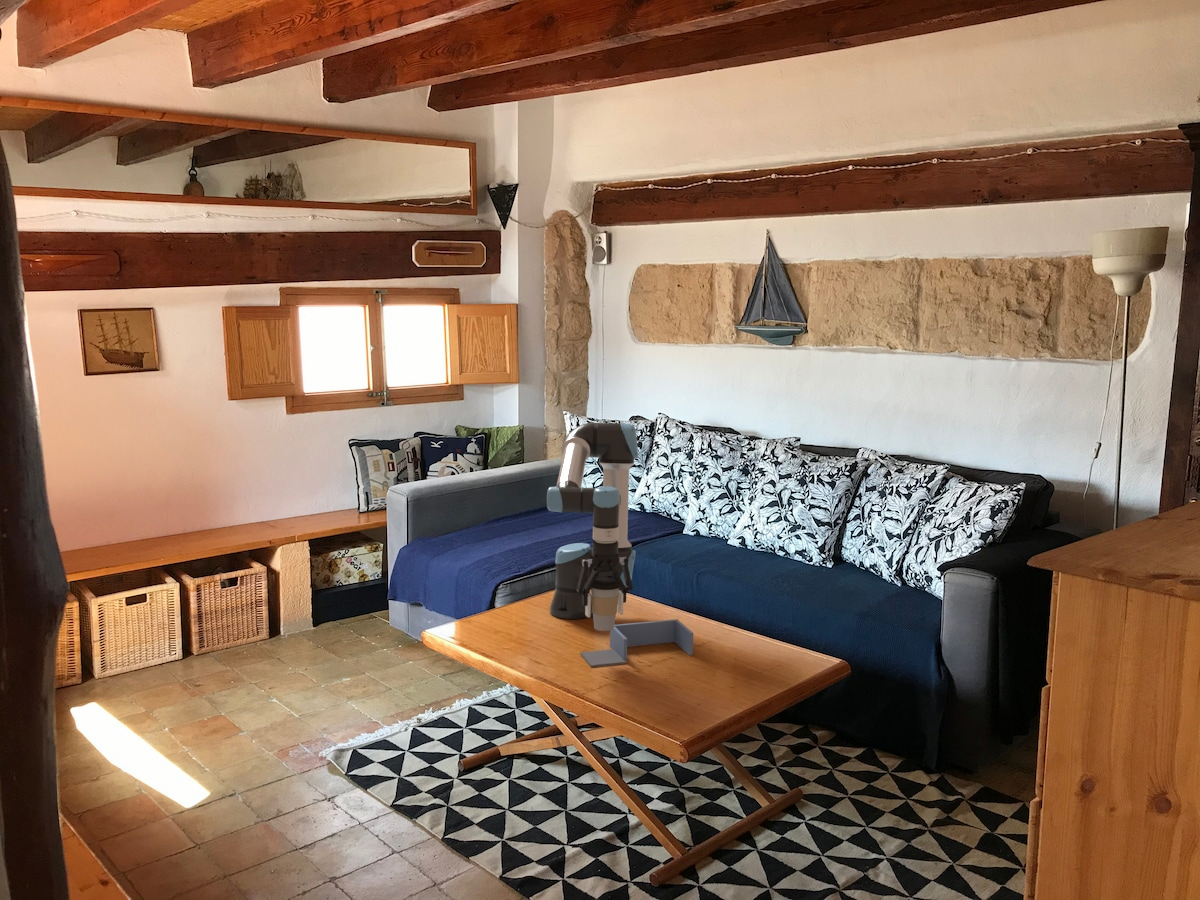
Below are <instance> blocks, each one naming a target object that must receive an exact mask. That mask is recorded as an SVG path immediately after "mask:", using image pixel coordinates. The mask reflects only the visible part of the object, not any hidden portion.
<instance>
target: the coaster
mask: <svg viewBox="0 0 1200 900" xmlns="http://www.w3.org/2000/svg"><path fill="white" fill-rule="evenodd" d="M579 654H580V656H581V657H582V658H583V659H584V661H585V662H586V663H587V665H588V666H589V667H590V668H596V667H598V668H599V667H607V666H617V665H628V660H627V661H626V660H623V659H622V658H621V657H620V656H619V655H618V653H617V652H616V651H615V650H614V649H611V648H610V649H599V650H590V651H582V652H581V651H580V653H579Z"/></svg>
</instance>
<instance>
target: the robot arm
mask: <svg viewBox="0 0 1200 900" xmlns="http://www.w3.org/2000/svg"><path fill="white" fill-rule="evenodd" d="M638 449H639V448H638V438H637V430H636V427H635V426H634V425H633V424H631V423H623V422H620V423H619V422H618V423H617V422H614V423H613V422H611V423H610V422H586V423H584V424H583V423H582V424H581V425H579V426H576V427H575V428H573V429H572V430H571V431H569V433H568V434H567V435H566V436H565V438H564V439H563V441H562V443H561V455H562V460H561V464H560V468H559V473H558V476H557V482H556V486H549V487H548V489H547V493H546V508H547V510H548V511H549V512H555V513H556V512H558V513H583V514H584V513H585V514H593V516H592V517H593V519H592V520H593V521H592V540H593V541H592V547H591V544H589V543H584V542H577V543H576V542H575V543H568V544H566V545H563V546H560V547H559V548H557V550H556V554H555V561H554V564H555V590H554V594H553V596H552V599H551V602H550V605H549V613H550V614H551V615H552V616H554V617H555V618H558V619H559V618H560V619H565V620H581V619H587V618H591V616H592V617H593V612H592V602H591V587H592V585H593V583H594V581H595V580H596V578H597V576H599V575H609V576H614V577H615V578H616V579H618V580H619V583H621V584H620V585H621V587H620V588H619V593H618V594H619V597H618V605H617V613H618V614H620V616H622V615H624V604H625V603H627V594H628V593H629V591H632V590H633V588H634V587H633V583H632V577H633V571H634V566H635V559H636V552H637V551H636V550H634V549H632V543H631V542H630V541H629V540H628V529H629V528H628V526H629V525H628V522H629V492H630V491H629V487H630V486H629V484H630V483H629V481H630V468H631V467H633V465H634V463H635V460H637V459H639V450H638ZM589 458H597V459H599V462H598V463H599V465H600V466H601V467H602V468H603V472H602V473H603V479H602V486H599V487H582V484H583V478H584V473H585V466H586V462H587V460H588V459H589Z"/></svg>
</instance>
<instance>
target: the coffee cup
mask: <svg viewBox="0 0 1200 900" xmlns="http://www.w3.org/2000/svg"><path fill="white" fill-rule="evenodd" d="M620 584H621V583H619V580H618V579H616V578H615V577H614V576H609V575H599V576H597V578H596V580H595V581H594V583H593V585H592V587H591V590H590V593H591V602H592V612H593V615H592V619H593V628H594V630H596V631H599V632H610V630H613V629H614V625H616V614H617V613H618V597H619V594H618V593H619V591H620V587H621V585H620Z"/></svg>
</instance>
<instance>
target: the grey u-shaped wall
mask: <svg viewBox="0 0 1200 900" xmlns="http://www.w3.org/2000/svg"><path fill="white" fill-rule="evenodd" d="M669 643H675V644H676V645H677V646H678V647H680V648H681V650H683V651H684V652H685V653H686V654H687V655H688V656H693V655H694V632H693V631H692V630H690V629H689V628H688V627H687V626H686V625H685V624H684V623H682V622H681V621H680V620H679V619H678V618H677V619H666V620H653V621H642V622H631V623H630V622H629V623H620V624H615V625H614V629H613V630H610V631H609V648H610V649H614V650H615V651H616V652H617V653H618V655H619V656H620V657H621V658H622V659H623V660H626V661H627V662H628V647H637V646H647V645H658V644H669Z"/></svg>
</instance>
